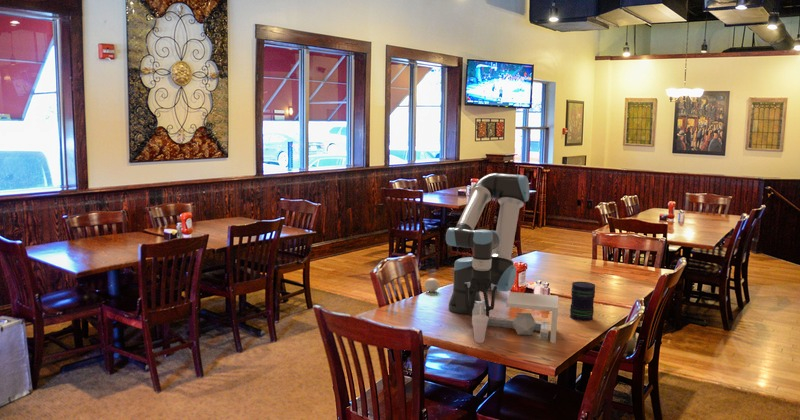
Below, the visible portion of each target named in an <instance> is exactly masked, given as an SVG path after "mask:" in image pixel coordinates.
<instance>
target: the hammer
mask: <svg viewBox="0 0 800 420" xmlns="http://www.w3.org/2000/svg"><path fill="white" fill-rule="evenodd" d="M480 305H481V315H484V310H485V309H486V306H485V301H482V300H481V301H475V303H474V315H480ZM514 320H515V318H507V317H499V316H498V317H497V316H489V320H488V322H487V327H500V328H508V329H515V328H514V326H513V322H514ZM535 322H536V326H535V328H534V330H533V331H537V332H538V331H539V340H541V341H548V340H549V326H550V322H549V321H548V322H547V321H539V320H536V321H535ZM472 330H473V331H474V329H473V328H472Z"/></svg>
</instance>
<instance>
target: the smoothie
mask: <svg viewBox="0 0 800 420" xmlns="http://www.w3.org/2000/svg"><path fill="white" fill-rule="evenodd" d="M489 317H490V316H489ZM489 317H488V316H486V315H481V305H480V315H473V316H472V317H471V321H472V320H473V326H472V330H473V329H474V330H473V340H474V342H475V343H477V344H482V343H485V338H486V333H487V327H488V326H487V322H488V320H489Z"/></svg>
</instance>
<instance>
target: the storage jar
mask: <svg viewBox="0 0 800 420" xmlns="http://www.w3.org/2000/svg"><path fill="white" fill-rule="evenodd" d="M570 291H571V292H570V293H571V294H570V295H571V304H570V310H569V318H571V320H574V321H577V322H591V321H593V319H594V311H595V308H594V300H595V297H596V296H595V295H596V284H595V283H592V282H588V281H574V282H573V281H572V283H571V290H570Z"/></svg>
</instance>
